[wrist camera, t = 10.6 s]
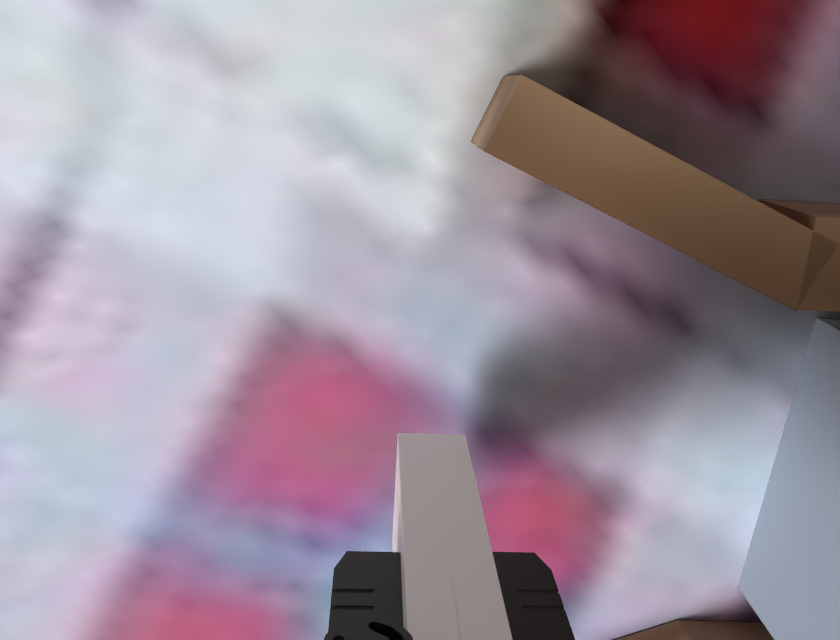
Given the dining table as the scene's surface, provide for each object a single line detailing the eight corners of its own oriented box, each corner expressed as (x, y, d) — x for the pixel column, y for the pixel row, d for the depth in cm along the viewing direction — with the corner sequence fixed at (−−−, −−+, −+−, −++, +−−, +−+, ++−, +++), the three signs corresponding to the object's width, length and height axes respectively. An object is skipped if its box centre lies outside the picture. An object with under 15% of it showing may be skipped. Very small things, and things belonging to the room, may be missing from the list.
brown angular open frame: (475, 74, 17) (493, 72, 14) (1253, 123, 18) (1416, 130, 15) (424, 738, 23) (429, 833, 20) (1019, 748, 24) (1105, 840, 21)
